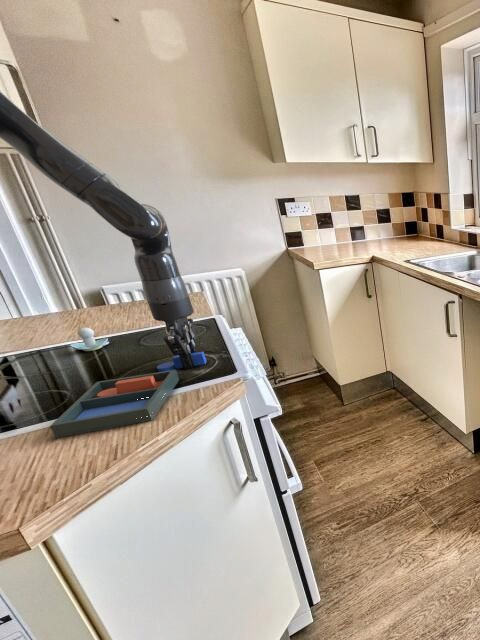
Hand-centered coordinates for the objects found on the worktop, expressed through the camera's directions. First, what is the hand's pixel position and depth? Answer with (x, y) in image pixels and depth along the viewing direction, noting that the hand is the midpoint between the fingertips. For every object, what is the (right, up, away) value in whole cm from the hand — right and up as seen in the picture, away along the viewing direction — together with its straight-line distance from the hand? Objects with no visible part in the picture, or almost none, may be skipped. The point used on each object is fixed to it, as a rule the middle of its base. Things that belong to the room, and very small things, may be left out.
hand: (191, 364), depth 102 cm
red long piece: (-2, -5, -14) cm, 15 cm away
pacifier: (-35, +4, +11) cm, 37 cm away
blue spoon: (-1, 0, -1) cm, 2 cm away
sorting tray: (0, -7, -17) cm, 19 cm away
